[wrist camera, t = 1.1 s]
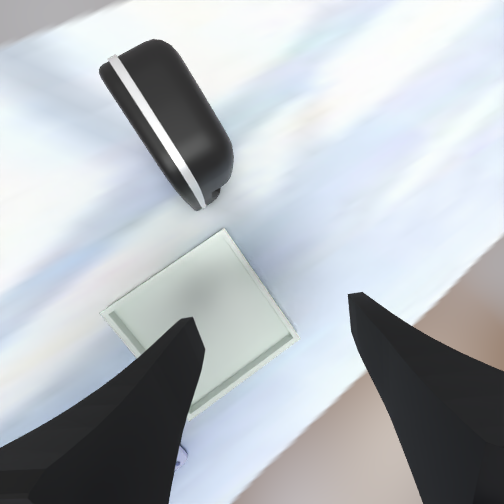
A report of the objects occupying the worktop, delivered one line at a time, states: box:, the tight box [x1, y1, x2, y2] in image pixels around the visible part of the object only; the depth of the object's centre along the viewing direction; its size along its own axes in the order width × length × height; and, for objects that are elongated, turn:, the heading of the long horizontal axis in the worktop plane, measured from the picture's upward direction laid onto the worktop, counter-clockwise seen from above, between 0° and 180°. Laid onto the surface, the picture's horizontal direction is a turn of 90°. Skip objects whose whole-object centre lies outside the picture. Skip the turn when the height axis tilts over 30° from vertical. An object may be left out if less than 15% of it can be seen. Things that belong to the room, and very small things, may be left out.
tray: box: [99, 228, 300, 421], centre depth 22 cm, size 12×12×2 cm
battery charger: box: [99, 39, 234, 211], centre depth 16 cm, size 7×4×11 cm, turn 32°
